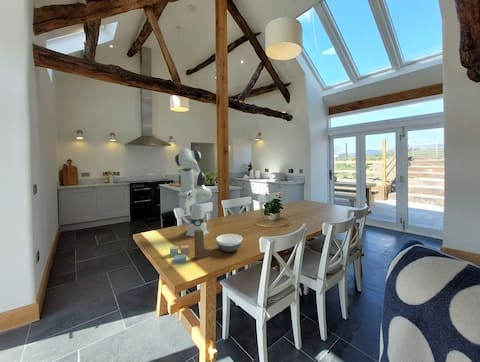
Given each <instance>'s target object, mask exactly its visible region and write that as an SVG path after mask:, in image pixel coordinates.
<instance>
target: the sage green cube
mask: <svg viewBox="0 0 480 362" xmlns="http://www.w3.org/2000/svg"><path fill="white" fill-rule="evenodd" d="M169 247H170V248H169V254H170V258H172V257H173V258H174V257H175V255H179V246H178V245H175V246H173V245H172V246H169Z"/></svg>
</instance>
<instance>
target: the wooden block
mask: <svg viewBox="0 0 480 362" xmlns="http://www.w3.org/2000/svg"><path fill="white" fill-rule="evenodd" d="M204 236H205V235H204V233H203V230H201V229H199V230H195V231H194V238H193V240H194V258H196V259H197V260H200V259H204V258H206V257H208V256H209V257H210V256H211V249H210V248H209V247H206V246H205V241H204V240H205V239H204Z"/></svg>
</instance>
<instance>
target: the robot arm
mask: <svg viewBox="0 0 480 362" xmlns="http://www.w3.org/2000/svg"><path fill="white" fill-rule="evenodd" d="M201 160H202V153H201V152H200V151H199V150H198V149H194V150H191V149H189V148H188V147H183V148H181V149H180V150H179V153H178V154H176V155H175V157H174V162H175V164H176V165H177V166H178V167H182V169H181V171H180V174H179V175H178V185H180V186H181V187H180V191H179V192H178V195H177V196H178V203H179V205H178V206H179V208H180V209H181V210H183V215H185V216H186V215H188V210H189V216H190V218H189V224H187V231H186V232H185V235H186V236H187V237H192V238H193V237H194V231H195V230H199V229H201V230H203V233H204V236H206V235H208V234H210V233H209V232H210V231H208V230H207V223H206V222H205V216H204V207H202V206H201V205H198V204H197V203H198V202H205V201H208V200H210V199H211V198H212V195H213V193H212V190H211V189H210V188H209V187H207V186H205V184H206V182H207V177H206V174H205V173H204V171H203V170H202V167H201V165H200V162H201ZM187 209H188V210H187Z"/></svg>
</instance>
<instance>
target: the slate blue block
mask: <svg viewBox="0 0 480 362" xmlns="http://www.w3.org/2000/svg"><path fill="white" fill-rule="evenodd" d="M183 263H187V255H186V254H181V253H180V254H178V255H175V256H174V264H175V265H176V264H183Z"/></svg>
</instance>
